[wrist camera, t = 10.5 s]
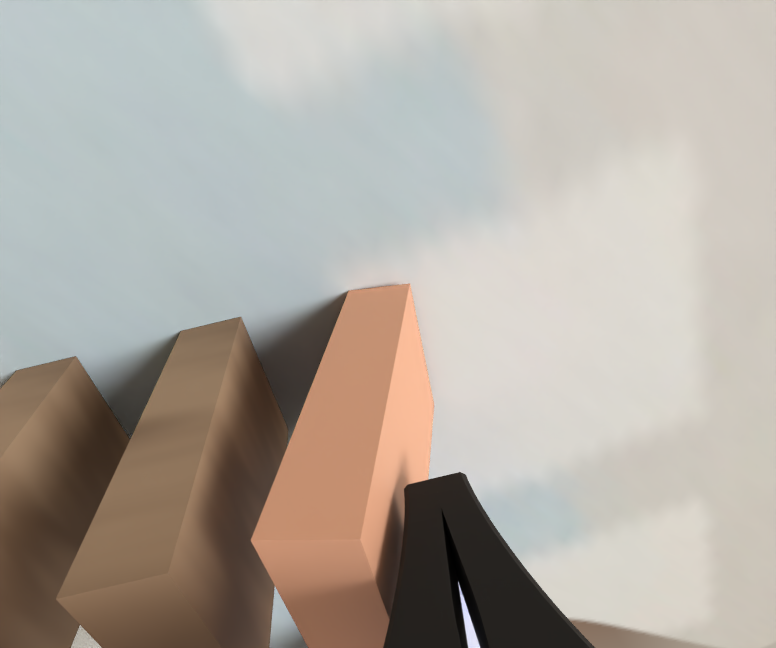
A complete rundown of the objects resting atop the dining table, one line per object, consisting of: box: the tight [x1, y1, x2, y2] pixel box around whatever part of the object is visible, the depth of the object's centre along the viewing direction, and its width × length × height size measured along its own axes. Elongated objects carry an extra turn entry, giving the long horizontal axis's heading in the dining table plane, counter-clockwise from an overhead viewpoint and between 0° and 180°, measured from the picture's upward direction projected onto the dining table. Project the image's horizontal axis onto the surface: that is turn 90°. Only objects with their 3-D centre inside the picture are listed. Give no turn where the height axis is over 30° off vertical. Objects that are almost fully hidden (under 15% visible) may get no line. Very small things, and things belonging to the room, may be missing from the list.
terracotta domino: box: [251, 284, 434, 648], centre depth 14 cm, size 5×2×9 cm, turn 11°
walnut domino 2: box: [56, 317, 288, 648], centre depth 14 cm, size 5×2×9 cm, turn 12°
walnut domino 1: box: [0, 356, 130, 648], centre depth 14 cm, size 5×2×9 cm, turn 12°
